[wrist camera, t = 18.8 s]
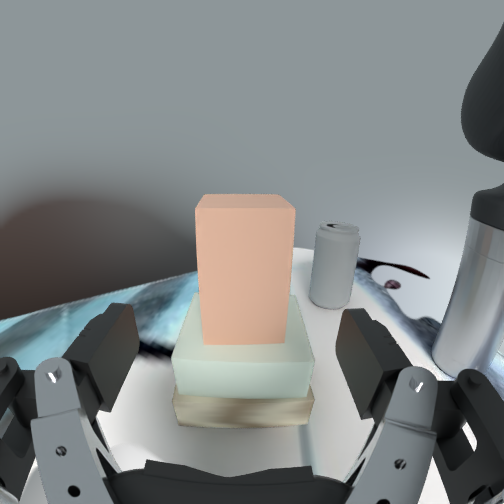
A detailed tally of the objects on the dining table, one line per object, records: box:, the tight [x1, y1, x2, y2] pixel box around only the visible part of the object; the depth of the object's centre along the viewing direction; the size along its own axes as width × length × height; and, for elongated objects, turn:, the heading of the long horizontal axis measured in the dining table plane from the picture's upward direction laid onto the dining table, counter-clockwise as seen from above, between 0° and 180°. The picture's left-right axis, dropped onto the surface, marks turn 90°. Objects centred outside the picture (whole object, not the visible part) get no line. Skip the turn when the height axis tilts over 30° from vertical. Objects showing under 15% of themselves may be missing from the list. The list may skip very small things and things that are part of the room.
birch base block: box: [172, 384, 314, 428], centre depth 24 cm, size 11×11×4 cm
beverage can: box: [309, 221, 360, 309], centre depth 39 cm, size 6×6×12 cm
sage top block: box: [171, 292, 315, 399], centre depth 23 cm, size 10×10×4 cm
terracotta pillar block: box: [195, 194, 296, 345], centre depth 21 cm, size 6×6×10 cm
